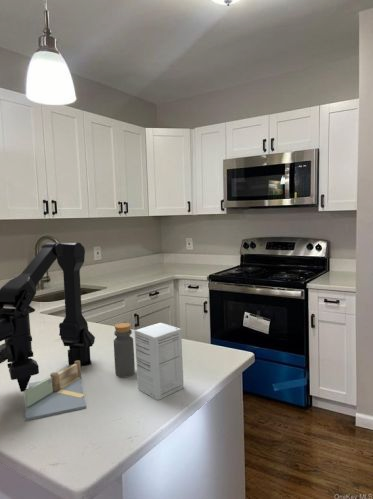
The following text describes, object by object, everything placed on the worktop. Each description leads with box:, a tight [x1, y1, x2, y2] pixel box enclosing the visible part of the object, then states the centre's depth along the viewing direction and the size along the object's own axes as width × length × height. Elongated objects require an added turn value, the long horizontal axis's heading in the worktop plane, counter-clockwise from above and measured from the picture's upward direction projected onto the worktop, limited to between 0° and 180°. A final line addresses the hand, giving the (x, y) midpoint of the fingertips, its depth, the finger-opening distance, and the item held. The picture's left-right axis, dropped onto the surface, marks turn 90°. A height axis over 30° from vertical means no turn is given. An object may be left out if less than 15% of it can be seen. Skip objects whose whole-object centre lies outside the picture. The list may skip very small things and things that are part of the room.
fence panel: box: [23, 376, 53, 407], centre depth 94 cm, size 8×1×4 cm, turn 156°
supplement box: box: [134, 322, 185, 401], centre depth 98 cm, size 10×9×17 cm
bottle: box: [113, 322, 136, 378], centre depth 109 cm, size 6×6×15 cm
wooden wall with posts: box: [49, 360, 82, 392], centre depth 103 cm, size 2×11×5 cm, turn 157°
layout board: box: [24, 375, 87, 422], centre depth 97 cm, size 14×20×1 cm
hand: (23, 391), depth 95 cm, fingers closed
